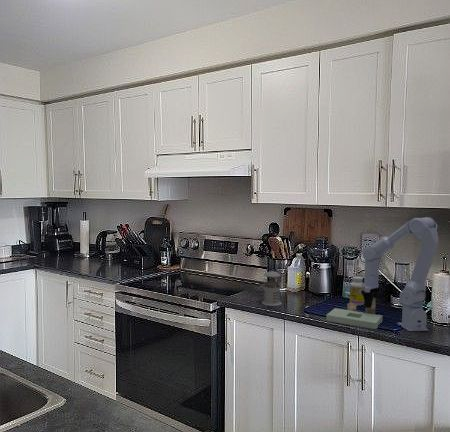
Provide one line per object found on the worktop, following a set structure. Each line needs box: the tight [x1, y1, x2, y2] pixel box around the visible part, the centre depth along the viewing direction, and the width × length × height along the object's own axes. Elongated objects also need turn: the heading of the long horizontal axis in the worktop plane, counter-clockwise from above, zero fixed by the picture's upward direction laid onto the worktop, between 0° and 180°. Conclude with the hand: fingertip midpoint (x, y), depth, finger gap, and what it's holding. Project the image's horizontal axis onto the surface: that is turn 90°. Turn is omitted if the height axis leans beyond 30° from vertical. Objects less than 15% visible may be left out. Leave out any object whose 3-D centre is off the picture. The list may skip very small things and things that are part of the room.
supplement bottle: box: [349, 275, 365, 306], centre depth 205 cm, size 7×7×13 cm
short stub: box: [346, 302, 358, 311], centre depth 190 cm, size 4×4×4 cm
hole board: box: [325, 307, 384, 330], centre depth 178 cm, size 20×12×2 cm, turn 59°
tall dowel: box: [364, 297, 377, 314], centre depth 185 cm, size 4×4×8 cm
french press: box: [261, 251, 282, 307], centre depth 206 cm, size 10×12×25 cm
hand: (370, 305), depth 186 cm, fingers open, 7 cm apart
